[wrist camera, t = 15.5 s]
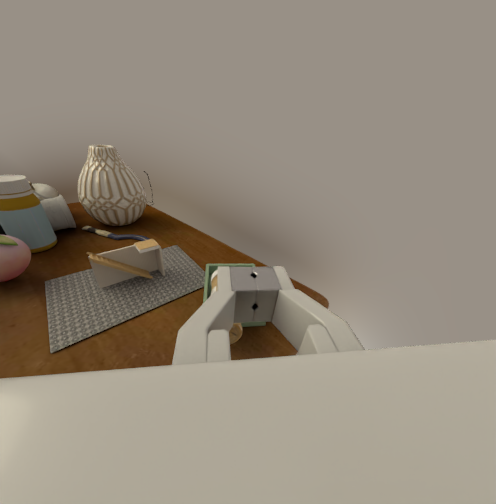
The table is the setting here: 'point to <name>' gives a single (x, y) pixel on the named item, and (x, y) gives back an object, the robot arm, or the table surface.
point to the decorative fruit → (13, 257)
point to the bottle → (24, 214)
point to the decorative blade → (114, 236)
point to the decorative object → (44, 190)
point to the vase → (110, 188)
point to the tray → (207, 287)
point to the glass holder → (55, 213)
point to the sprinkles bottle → (237, 327)
